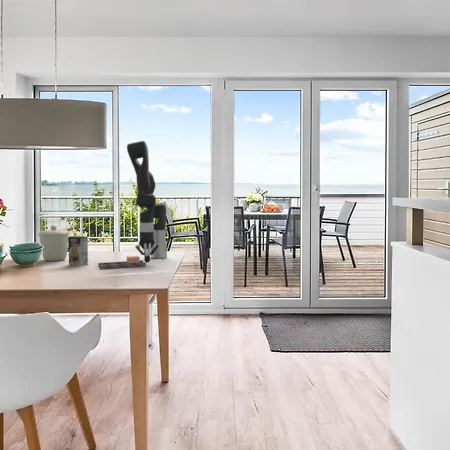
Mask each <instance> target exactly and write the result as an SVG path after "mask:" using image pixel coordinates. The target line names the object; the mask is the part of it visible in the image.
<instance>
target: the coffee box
mask: <svg viewBox="0 0 450 450" xmlns="http://www.w3.org/2000/svg"><path fill="white" fill-rule="evenodd" d="M88 241H89V239H88V236H83V235H82V236H81V235H75V236H74V235H73V236H71V235H70V236H68V265H69V266H75V267H76V266H77V267H82V266H84V267H85V266H88V265H89V251H88V250H89V249H88V246H89V244H88V243H89V242H88Z"/></svg>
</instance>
